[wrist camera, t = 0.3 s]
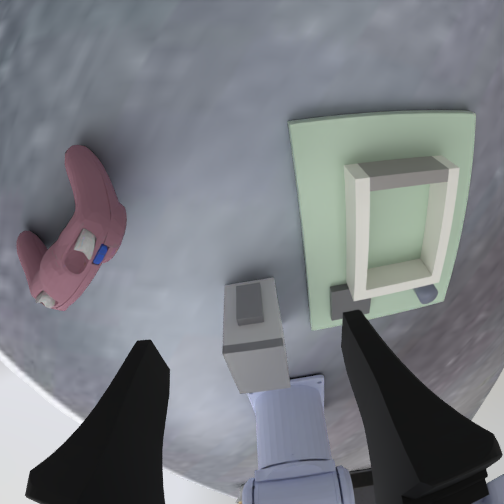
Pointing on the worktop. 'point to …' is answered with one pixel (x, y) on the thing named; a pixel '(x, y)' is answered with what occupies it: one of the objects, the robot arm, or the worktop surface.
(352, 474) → the electronic device
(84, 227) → the video game controller
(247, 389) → the plug
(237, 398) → the worktop surface
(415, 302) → the board
